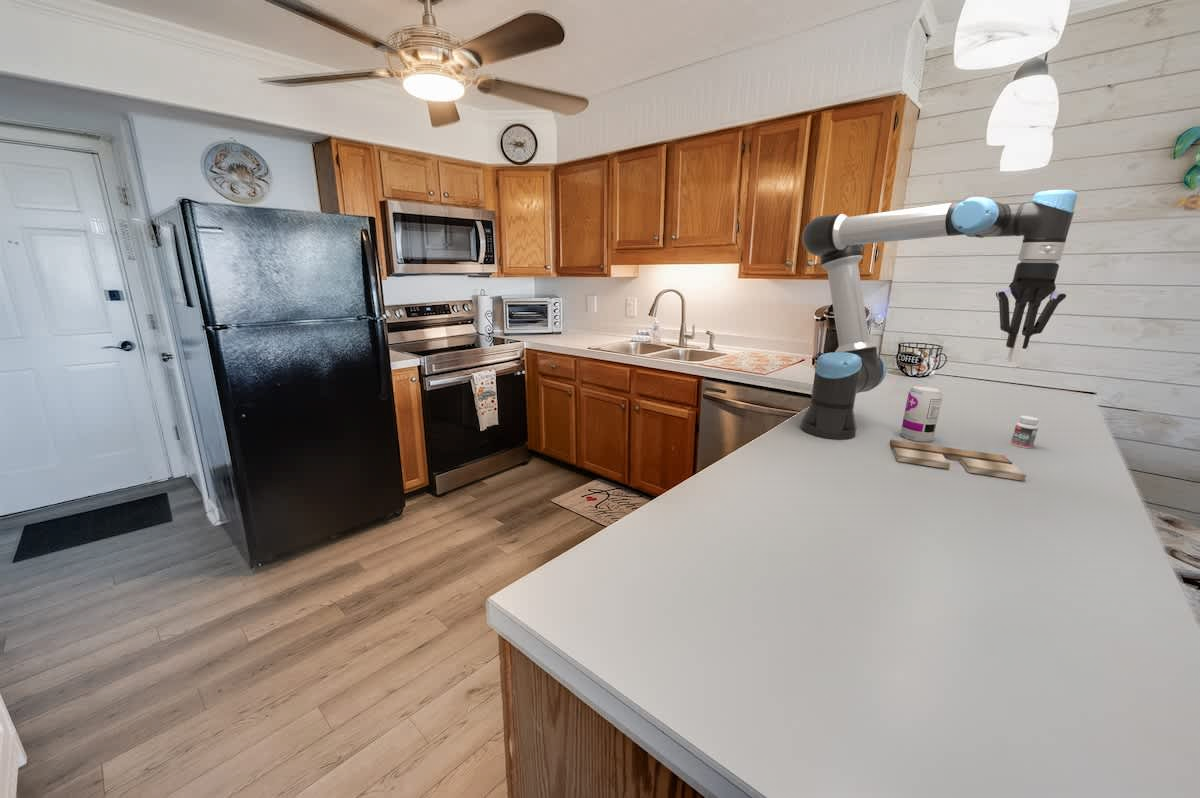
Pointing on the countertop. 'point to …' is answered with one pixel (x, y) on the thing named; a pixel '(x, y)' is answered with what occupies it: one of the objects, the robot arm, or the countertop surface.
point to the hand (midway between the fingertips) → (1012, 361)
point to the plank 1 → (921, 458)
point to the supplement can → (921, 413)
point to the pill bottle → (1025, 432)
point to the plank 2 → (992, 468)
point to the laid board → (949, 452)
